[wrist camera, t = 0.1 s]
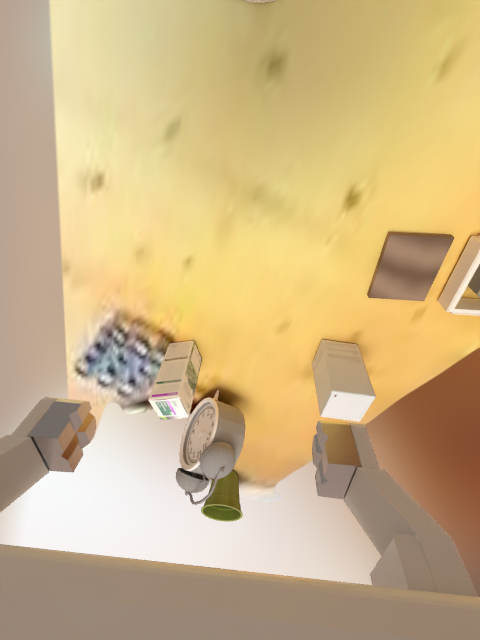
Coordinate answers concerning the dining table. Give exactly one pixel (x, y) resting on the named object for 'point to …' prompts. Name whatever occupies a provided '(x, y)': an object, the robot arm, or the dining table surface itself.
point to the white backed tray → (462, 282)
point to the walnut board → (408, 265)
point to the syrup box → (176, 381)
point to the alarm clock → (209, 445)
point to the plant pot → (224, 499)
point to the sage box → (475, 281)
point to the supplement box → (341, 381)
